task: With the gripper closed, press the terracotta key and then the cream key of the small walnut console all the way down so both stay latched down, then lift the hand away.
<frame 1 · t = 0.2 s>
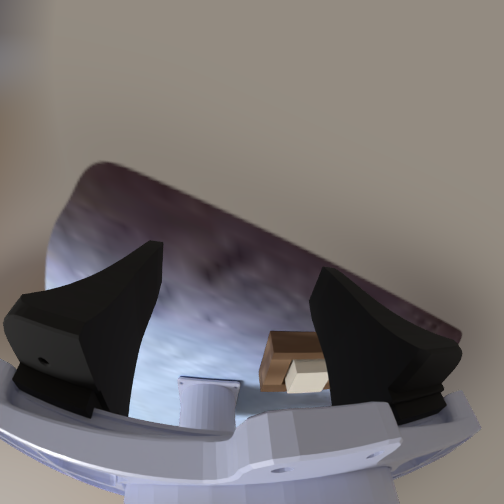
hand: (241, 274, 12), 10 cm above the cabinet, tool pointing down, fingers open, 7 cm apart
walnut console: (328, 353, 30), on the cabinet
cream key: (307, 372, 27), point 3 cm above the cabinet, slide at 0.0 cm
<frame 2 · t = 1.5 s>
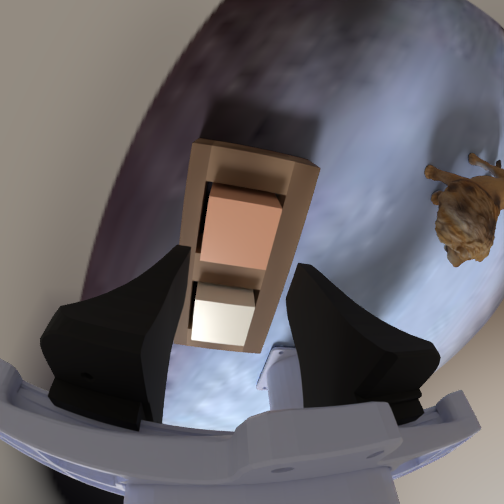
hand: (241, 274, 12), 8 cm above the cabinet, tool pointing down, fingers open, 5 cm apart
terracotta key: (238, 224, 17), point 3 cm above the cabinet, slide at 0.0 cm
walnut console: (232, 251, 21), on the cabinet
cream key: (221, 310, 20), point 3 cm above the cabinet, slide at 0.0 cm
lion figurine: (451, 182, 19), on the cabinet
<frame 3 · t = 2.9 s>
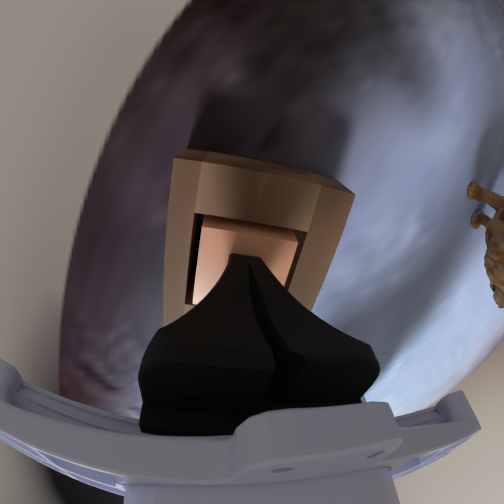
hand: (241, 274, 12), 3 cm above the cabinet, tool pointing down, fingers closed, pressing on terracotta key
terracotta key: (240, 258, 13), point 2 cm above the cabinet, slide at 1.2 cm, touching gripper
walnut console: (233, 292, 16), on the cabinet
lion figurine: (490, 202, 15), on the cabinet
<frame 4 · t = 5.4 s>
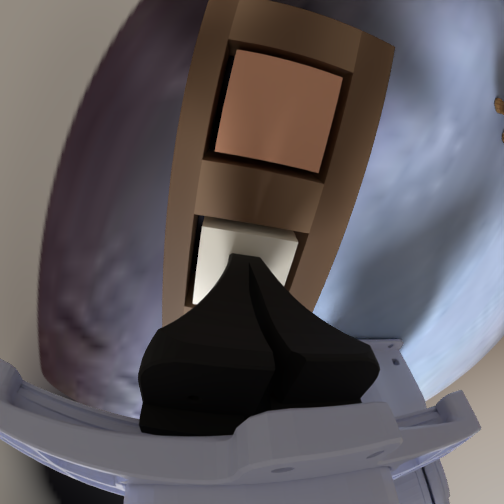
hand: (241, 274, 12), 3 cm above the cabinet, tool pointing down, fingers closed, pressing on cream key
terracotta key: (274, 110, 10), point 2 cm above the cabinet, slide at 1.4 cm
walnut console: (258, 180, 13), on the cabinet
cream key: (241, 257, 13), point 2 cm above the cabinet, slide at 1.3 cm, touching gripper
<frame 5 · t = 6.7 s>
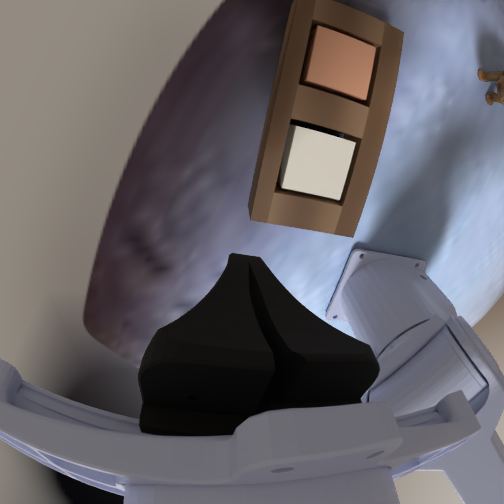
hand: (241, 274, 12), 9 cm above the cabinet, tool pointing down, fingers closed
terracotta key: (335, 65, 14), point 2 cm above the cabinet, slide at 1.4 cm
walnut console: (321, 112, 17), on the cabinet
cream key: (313, 160, 17), point 2 cm above the cabinet, slide at 1.4 cm
lion figurine: (496, 91, 15), on the cabinet
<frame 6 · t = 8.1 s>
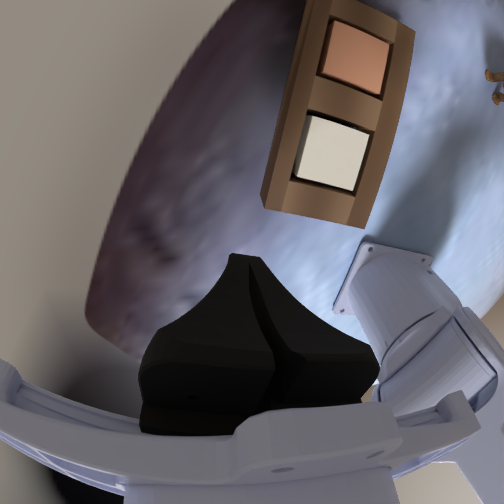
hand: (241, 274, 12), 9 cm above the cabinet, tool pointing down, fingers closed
terracotta key: (349, 59, 14), point 2 cm above the cabinet, slide at 1.4 cm
walnut console: (334, 105, 17), on the cabinet
cream key: (326, 150, 17), point 2 cm above the cabinet, slide at 1.4 cm
lion figurine: (502, 91, 15), on the cabinet
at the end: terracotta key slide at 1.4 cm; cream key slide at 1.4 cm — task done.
